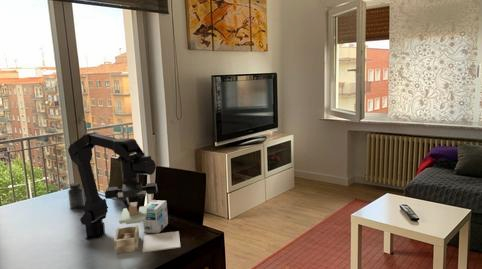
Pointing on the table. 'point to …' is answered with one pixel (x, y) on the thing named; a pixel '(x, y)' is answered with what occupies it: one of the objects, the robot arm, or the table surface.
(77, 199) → the supplement bottle
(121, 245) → the crate
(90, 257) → the table surface
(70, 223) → the table surface
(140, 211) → the lid
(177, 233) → the felt mat
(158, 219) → the light bulb box
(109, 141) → the robot arm
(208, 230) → the table surface
